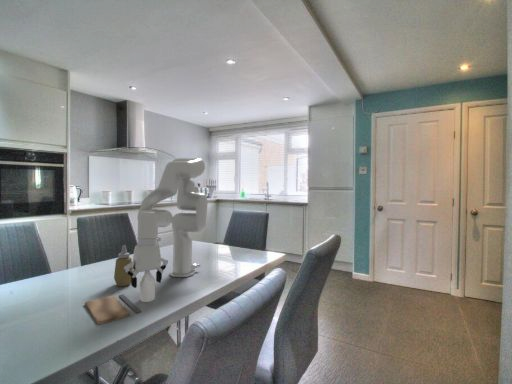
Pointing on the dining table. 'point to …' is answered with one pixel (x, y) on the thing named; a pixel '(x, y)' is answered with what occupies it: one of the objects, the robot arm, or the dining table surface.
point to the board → (106, 309)
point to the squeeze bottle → (122, 268)
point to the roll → (147, 287)
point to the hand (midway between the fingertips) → (146, 284)
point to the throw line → (130, 303)
